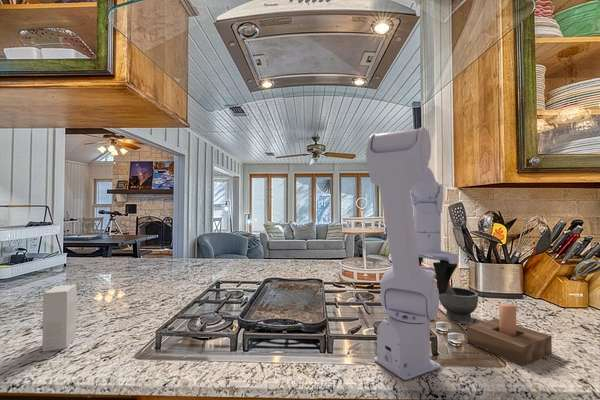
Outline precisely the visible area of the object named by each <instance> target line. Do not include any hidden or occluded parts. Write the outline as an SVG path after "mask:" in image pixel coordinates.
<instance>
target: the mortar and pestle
mask: <svg viewBox="0 0 600 400" xmlns="http://www.w3.org/2000/svg"><path fill="white" fill-rule="evenodd" d="M433 276H434V279H435V280H436V281H437V278H436V273H435V274H433ZM439 303H441V306H442V307H443V309H445V310H446V313H445V317H447V318H448V319H451V320H453V321H454V320H455V321H457V322H459V321H460V322H468V321H471V319H472V315H471V314H472V313H474V312H475V310H476V309H477V307H478V303H479V293H478V292H477V291H475V290H472V289H467V288H463V287H454V286H451V284H450V283H449V284H448V287H447V291H446V293H444V294H439Z"/></svg>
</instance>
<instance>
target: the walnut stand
mask: <svg viewBox="0 0 600 400" xmlns="http://www.w3.org/2000/svg"><path fill="white" fill-rule="evenodd" d="M466 336H467V337H466V338H467V339H466V340H467V342H469V343H472V344H474V345H477V346H479V347H482V348H484V349H487V350H488V351H490V352H489V353H491V352H492V353H491V354H493V353H494V355H495V356H498V357H501V358H502V359H506V360H507V361H510V362H513V363H515V364H518V365H520V366H523V367H524V366H526V365H528V364H530V363H533V362H535V361H537V360H539V359H542V358H544V357H547V356H548V355H551V354H552V353H553V350H552V349H553V348H552V346H553V345H552V344H553V343H552V338H553V337H552V335H549V334H546V333H543V332H540V331H538V330H534V329H532V328H528V327H524V326H521V325H519V324H518V325H517V324H516V337H511V336H508V335H506V334H503V333H500V332H499V318H493V319H489V320H485V321H483V322H479V323H476V324H472V325H468V326H466ZM467 342H466V343H467ZM469 343H468V344H469ZM472 344H471V345H472ZM474 345H473V346H474ZM477 346H476V347H477ZM479 347H478V348H479ZM484 349H483V350H484ZM488 351H487V352H488Z"/></svg>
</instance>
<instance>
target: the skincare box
mask: <svg viewBox="0 0 600 400" xmlns="http://www.w3.org/2000/svg"><path fill="white" fill-rule="evenodd" d="M77 290H78V289H77V284H67V285H66V284H64V285H54V286H53V287H52V288H50V289H48V290H47V291H45V292H44V293H43V294H42V342H41V343H42V345H41V349H42V350H41V351H42V352H43V353H44V352H51V351H58V350H66V349H67V348H68V347H69V345H70V344H72V343H73V341H74V339H75V338H76V337H77V295H78V294H77V292H78V291H77Z"/></svg>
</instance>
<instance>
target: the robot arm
mask: <svg viewBox="0 0 600 400" xmlns="http://www.w3.org/2000/svg"><path fill="white" fill-rule="evenodd" d="M431 155H432V143H431V135H430V131H429V130H428V129H426V127H424V126H422V127H419V128H415V129H414V128H413V129H407V130H400V131H392V132H390V131H389V132H385V133H372V134H371V135H370V136H369V138H368V140H367V142H366V149H365V159H366V164H367V165H366V166H367V170H368V175H369V179H370V182H371V183H372V184H374V185H375V186H377V187H378V188H379V193H380V198H381V201H382V202H381V204H382V209H383V215H384V221H385V227H386V228H385V230H386V234H387V240H388V246H389V247H388V248H389V254H390V259H391V260H390V261H391V265H392V266H391V267H390V268H388V269H386V270H385V271H384V273H383V275H382V277H381V279H380V282H379V284H380V285H379V286H380V294H379V297H380V299H379V300H380V303H381V304H380V305H381V306H382V308H383V310H384V311H386V316H388V317H387V318H386V319H385V320H382V321H381V322H380V323H379V324H378V326H377V329H376V330H377V331H376V356H375V357H373V359H374V361H375V362H376V363H378V364H379V365H381V366H383V367H384V368H385V369H387V370H388V371H389V372H391V373H393V374H395V375H396V376H398V377H399V378H400V379H402V380H404V381H407V380H411V379H413V378H416V377H418V376H421V375H423V374H427V373H430V372H431V371H435V370H437V369H440V368H441V367H442V365H441V364H440V363H438V362H436V361H435V360H432V359H431V348H430V347H431V336H430V335H431V333H430V332H431V329H430V328H431V327H430V326H431V323H430V322H431V321H432V320H435V318H437V316H438V314H439V306H440V299H439V294H444V293H446V291H447V287H448V284H450V280H451V278H452V276H453V274H454V272H455V270H456V269H457V267H458V264H459V254H457V253H452V252H447V251H443V250H442V242H441V241H442V236H441V235H442V234H441V232H442V228H441V227H442V224H441V223H442V218H441V217H442V216H441V214H442V213H443V202H444V197H445V196H444V186H443V184H442V183H439V181H437V180H436V178H435V175H434V172H433V170H432V169H431V168H429V163H430V160H431ZM413 206H414V210H413ZM424 259H428V260H434V261H437V262H433V263H432V265H433V268H434V271H435V274H436V278H437V280H436V279H434V274H432V273H430V272H429V271H427V270H426V269H425V268H423V267H422V263H423V260H424Z"/></svg>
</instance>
